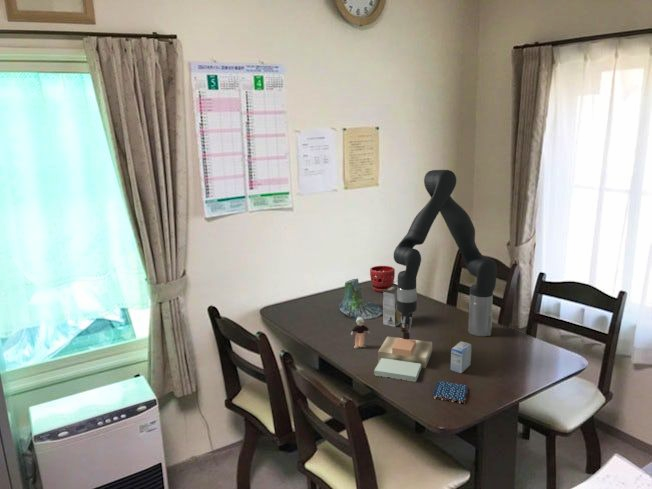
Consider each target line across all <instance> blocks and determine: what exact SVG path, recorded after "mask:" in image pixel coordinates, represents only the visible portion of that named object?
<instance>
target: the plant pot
mask: <svg viewBox="0 0 652 489" xmlns="http://www.w3.org/2000/svg"><path fill="white" fill-rule="evenodd" d="M395 272H396V269H395V268H394V267H393V266H389V265H377V266H376V265H375V266H371V267H370V269H369V274H370V281H371V283H372V285H371V289H372V290H374V291H376V292H378V293H383V290H385V289H387V288H389V287H391V286H392V285H393V283H394V281H395V275H396V274H395Z"/></svg>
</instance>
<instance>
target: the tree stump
mask: <svg viewBox="0 0 652 489" xmlns="http://www.w3.org/2000/svg"><path fill="white" fill-rule="evenodd" d="M360 284H361V283H359V278H353V279H349V280H347V281H345V283H344V297H343V299H342V301H341V302H340V303H339V305H338V308H339V310H340V311H341V312H342V313H343V314H344V315H345V316H346V317H348V318H350V319H353V320H357V318H359V317H361V318H363V319H364V321H367V320H368V321H370V320H372V319H373V320H374V319H379V317H381V316H383V308H382V307H381V306H378V305H377V304H375V303H373V302H367V301H366V300H365V298H363V297H362V293H361V289H362V287H361V285H360Z"/></svg>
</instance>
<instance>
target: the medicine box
mask: <svg viewBox="0 0 652 489" xmlns="http://www.w3.org/2000/svg"><path fill="white" fill-rule="evenodd" d="M471 361H472V344H471V343H469V342H466V341H465V342H464V341H459V342H458V343H456V344H455V346H453V347H452V348H451V350H450V370H451V371H453V372H456V373H457V374H458V373H459V374H462V373H463V372H465V371H466V369H468V368H469V367H470V366H471V364H472V363H471Z"/></svg>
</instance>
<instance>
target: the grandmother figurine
mask: <svg viewBox="0 0 652 489" xmlns="http://www.w3.org/2000/svg"><path fill="white" fill-rule="evenodd" d="M355 322H356V325H355V326H354V327H353V328H352V329H351V333H350V335H351V336H353V335H354V334H355V335H354V336H355V338H354V346H353V348H354V349H359V348H361V347H365V348H366V345H365V340H366V339H365V332H366V333H367V334H368V335H369V334H371V331H370V329H369V328H368V327H367V326H366V325H364V324H365V320H364V319H363V318H361V317H359V318H357V319H355Z"/></svg>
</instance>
